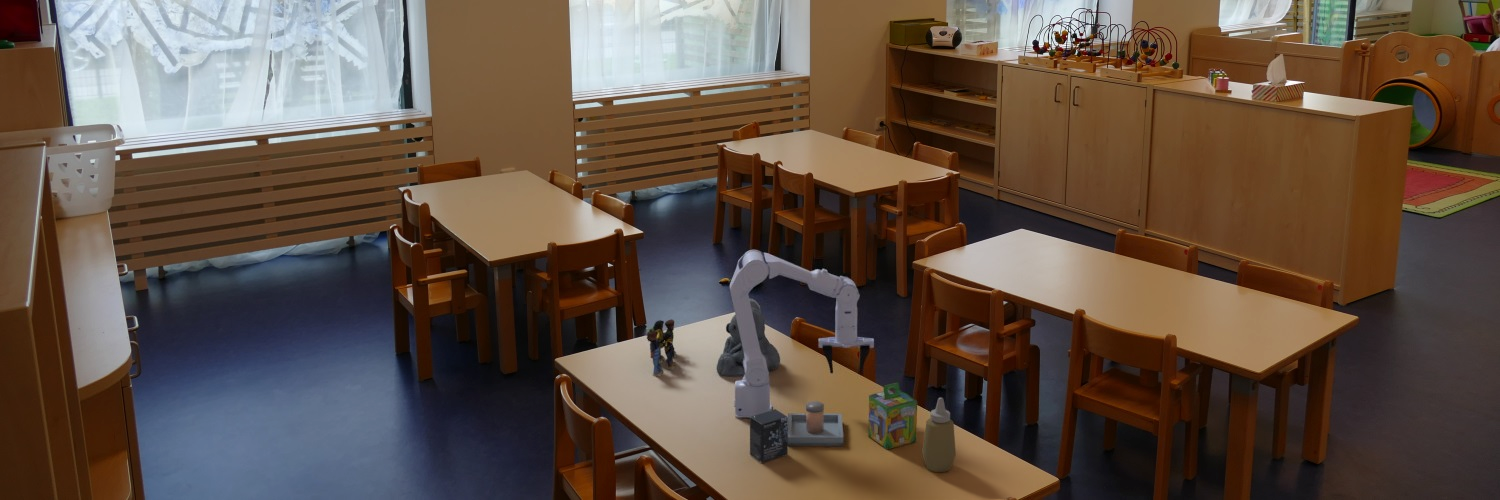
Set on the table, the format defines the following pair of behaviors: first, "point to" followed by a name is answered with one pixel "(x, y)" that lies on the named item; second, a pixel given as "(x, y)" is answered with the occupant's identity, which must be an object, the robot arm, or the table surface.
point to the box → (768, 435)
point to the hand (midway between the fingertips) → (845, 371)
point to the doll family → (661, 345)
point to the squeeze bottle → (939, 440)
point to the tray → (826, 438)
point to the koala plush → (733, 349)
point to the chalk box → (892, 417)
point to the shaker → (814, 417)
